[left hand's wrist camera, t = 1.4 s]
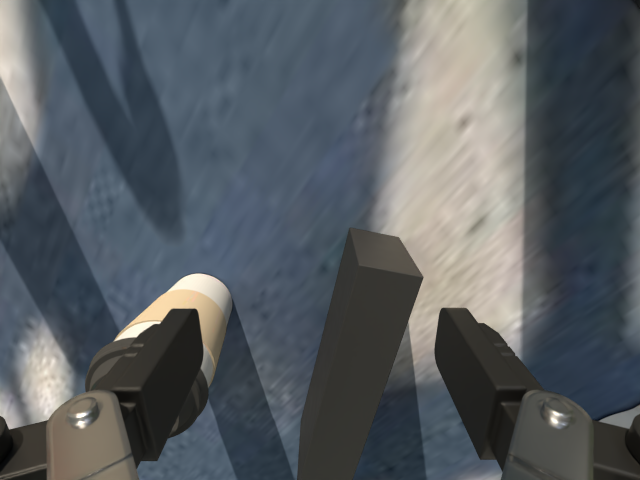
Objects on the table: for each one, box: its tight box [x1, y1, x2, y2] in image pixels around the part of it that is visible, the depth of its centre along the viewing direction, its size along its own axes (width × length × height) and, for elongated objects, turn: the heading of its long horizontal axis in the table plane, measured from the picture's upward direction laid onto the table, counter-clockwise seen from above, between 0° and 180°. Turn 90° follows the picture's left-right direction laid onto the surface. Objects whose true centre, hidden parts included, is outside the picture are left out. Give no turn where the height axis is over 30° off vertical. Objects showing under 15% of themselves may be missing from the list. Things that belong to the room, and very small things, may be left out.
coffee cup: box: [85, 274, 232, 438], centre depth 31 cm, size 9×9×15 cm
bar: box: [297, 228, 423, 480], centre depth 36 cm, size 27×5×9 cm, turn 168°
